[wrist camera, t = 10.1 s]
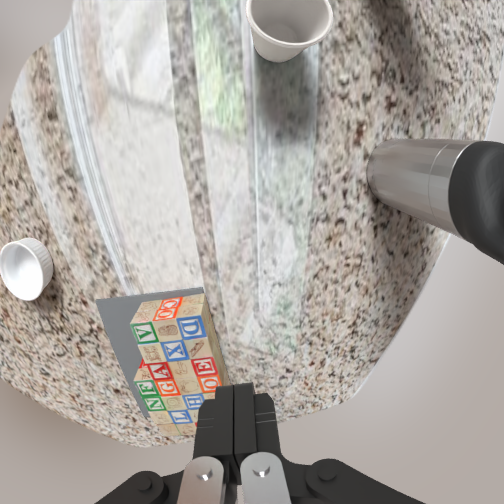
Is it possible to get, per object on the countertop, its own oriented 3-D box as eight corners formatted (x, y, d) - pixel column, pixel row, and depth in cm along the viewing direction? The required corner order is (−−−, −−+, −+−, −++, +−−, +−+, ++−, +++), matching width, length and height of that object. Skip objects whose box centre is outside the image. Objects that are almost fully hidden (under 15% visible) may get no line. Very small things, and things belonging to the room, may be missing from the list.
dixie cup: (275, 85, 34) (290, 63, 24) (228, 40, 31) (226, 6, 22) (323, 47, 32) (350, 20, 23) (277, 4, 30) (290, -34, 20)
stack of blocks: (206, 290, 41) (122, 304, 41) (202, 314, 35) (107, 327, 35) (237, 403, 48) (167, 410, 48) (237, 431, 42) (161, 436, 42)
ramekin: (61, 246, 38) (46, 256, 34) (53, 297, 41) (40, 310, 36) (17, 225, 37) (0, 233, 33) (12, 275, 39) (-3, 286, 35)
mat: (202, 287, 41) (202, 288, 41) (231, 411, 49) (231, 412, 48) (96, 299, 41) (95, 300, 40) (144, 415, 48) (144, 416, 48)
